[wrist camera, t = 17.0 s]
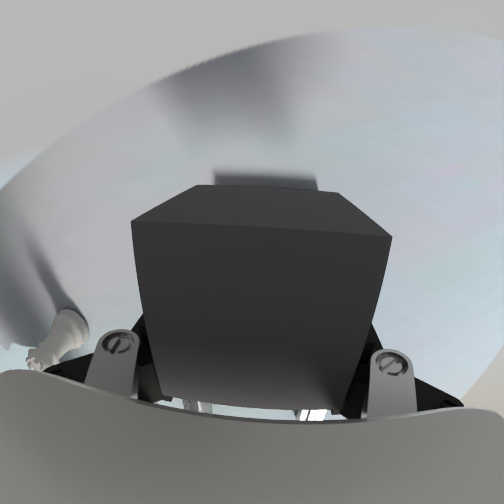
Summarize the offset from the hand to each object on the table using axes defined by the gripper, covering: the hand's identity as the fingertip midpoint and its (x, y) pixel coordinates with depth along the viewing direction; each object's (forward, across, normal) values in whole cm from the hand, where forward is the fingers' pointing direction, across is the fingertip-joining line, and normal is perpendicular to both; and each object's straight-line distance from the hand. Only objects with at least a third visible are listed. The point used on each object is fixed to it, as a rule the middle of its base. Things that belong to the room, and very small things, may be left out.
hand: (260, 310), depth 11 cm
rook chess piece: (+10, +20, +11) cm, 25 cm away
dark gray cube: (+1, 0, -2) cm, 2 cm away
